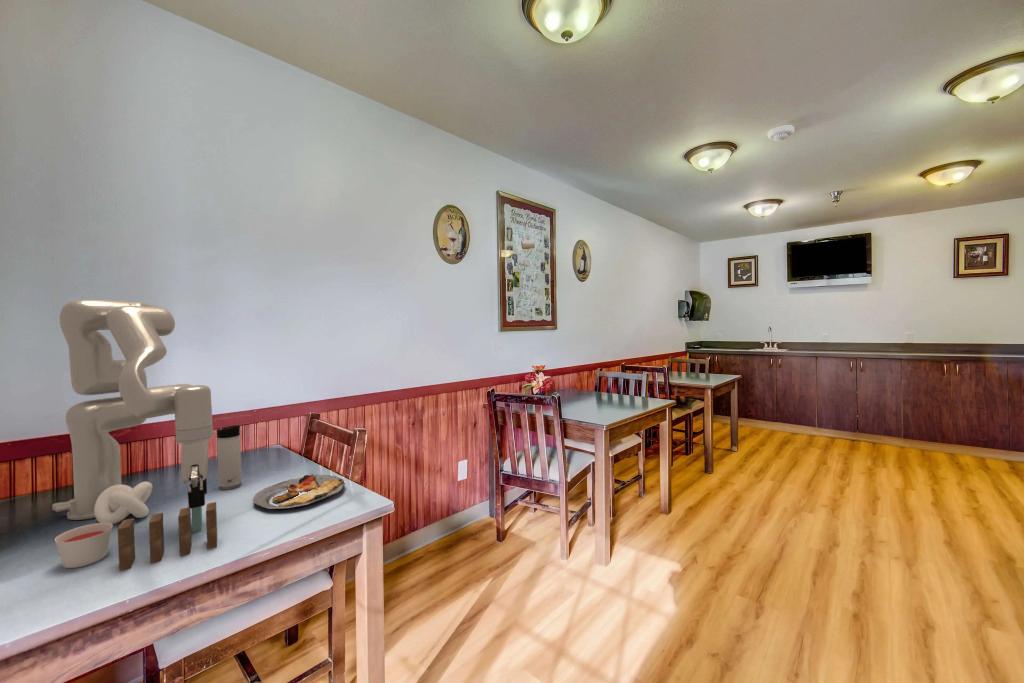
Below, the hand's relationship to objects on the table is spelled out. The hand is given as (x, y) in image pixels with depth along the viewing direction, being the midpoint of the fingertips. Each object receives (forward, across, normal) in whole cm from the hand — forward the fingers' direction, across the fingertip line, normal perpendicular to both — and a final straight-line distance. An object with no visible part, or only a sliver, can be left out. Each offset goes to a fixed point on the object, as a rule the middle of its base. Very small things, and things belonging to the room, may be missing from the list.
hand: (198, 500), depth 106 cm
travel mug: (+7, -31, +6) cm, 32 cm away
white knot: (+7, -19, -16) cm, 26 cm away
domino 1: (+7, +11, -12) cm, 18 cm away
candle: (+7, +4, -20) cm, 22 cm away
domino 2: (+7, +11, -7) cm, 15 cm away
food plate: (+8, -9, +24) cm, 27 cm away
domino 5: (+7, +11, +3) cm, 14 cm away
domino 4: (+7, -1, 0) cm, 7 cm away
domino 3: (+7, +11, -2) cm, 14 cm away
